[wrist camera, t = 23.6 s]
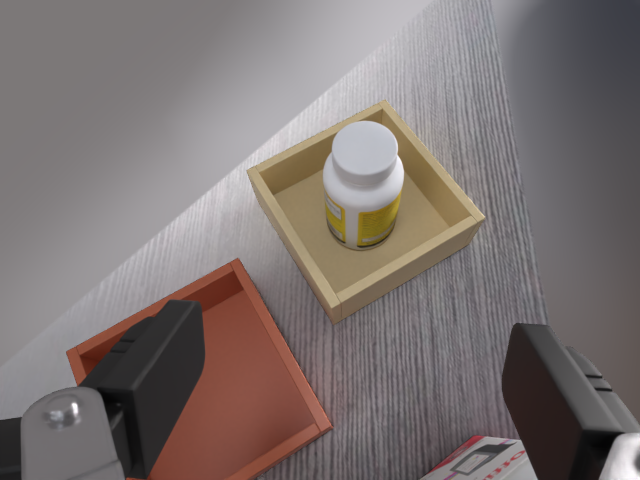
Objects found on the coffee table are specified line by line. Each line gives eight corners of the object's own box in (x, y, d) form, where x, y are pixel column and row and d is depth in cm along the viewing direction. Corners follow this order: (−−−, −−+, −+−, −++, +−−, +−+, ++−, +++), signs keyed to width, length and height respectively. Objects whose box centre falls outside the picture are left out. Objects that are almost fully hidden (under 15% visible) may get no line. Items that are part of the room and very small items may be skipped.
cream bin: (333, 325, 33) (331, 308, 29) (257, 200, 38) (246, 170, 34) (469, 244, 35) (485, 217, 31) (381, 134, 40) (385, 98, 36)
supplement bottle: (403, 201, 36) (421, 124, 28) (382, 260, 34) (395, 197, 26) (340, 182, 37) (337, 102, 29) (316, 239, 36) (306, 171, 27)
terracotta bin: (164, 536, 28) (133, 552, 24) (101, 362, 33) (65, 351, 29) (333, 428, 30) (331, 426, 26) (251, 279, 35) (238, 257, 31)
